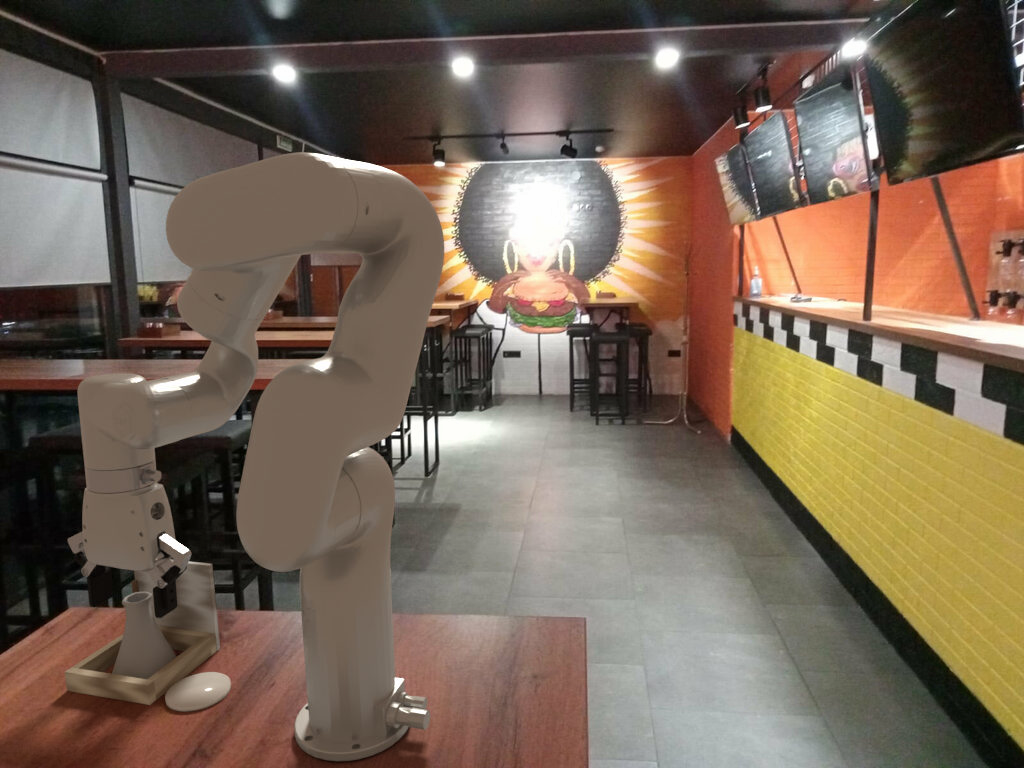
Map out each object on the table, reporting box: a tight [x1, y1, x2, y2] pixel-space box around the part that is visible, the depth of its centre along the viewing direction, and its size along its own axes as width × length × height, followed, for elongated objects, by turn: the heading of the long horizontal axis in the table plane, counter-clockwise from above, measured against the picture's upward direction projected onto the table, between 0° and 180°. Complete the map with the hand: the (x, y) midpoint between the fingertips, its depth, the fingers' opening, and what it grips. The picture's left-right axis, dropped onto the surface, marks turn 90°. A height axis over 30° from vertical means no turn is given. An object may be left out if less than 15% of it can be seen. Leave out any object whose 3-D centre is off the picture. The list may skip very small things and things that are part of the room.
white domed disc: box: [164, 671, 232, 713], centre depth 86 cm, size 7×7×1 cm
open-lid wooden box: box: [64, 558, 221, 706], centre depth 90 cm, size 12×13×12 cm
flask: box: [111, 592, 178, 679], centre depth 90 cm, size 7×7×10 cm
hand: (133, 607), depth 90 cm, fingers open, 9 cm apart
